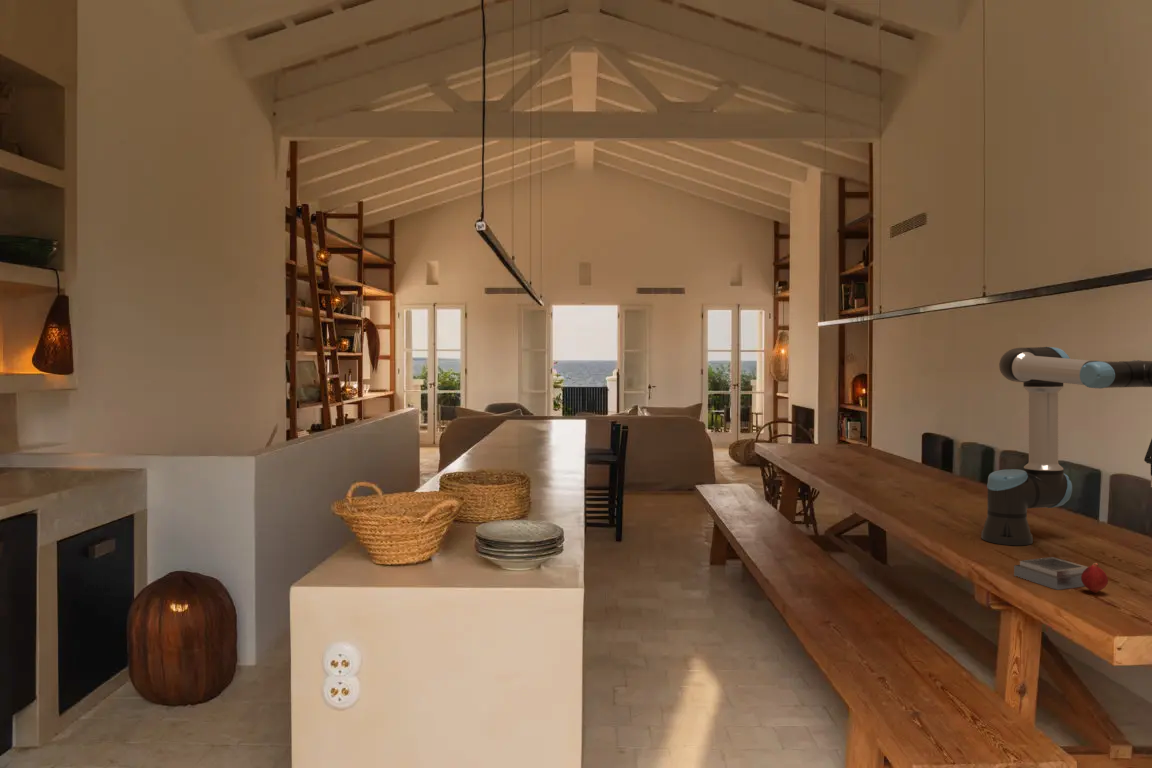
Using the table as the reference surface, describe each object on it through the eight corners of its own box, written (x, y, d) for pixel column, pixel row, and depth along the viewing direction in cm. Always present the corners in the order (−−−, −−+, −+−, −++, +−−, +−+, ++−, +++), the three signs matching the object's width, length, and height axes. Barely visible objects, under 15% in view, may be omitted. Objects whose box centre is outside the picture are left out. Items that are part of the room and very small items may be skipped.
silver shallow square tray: (1014, 575, 224) (1014, 560, 224) (1052, 571, 228) (1052, 555, 228) (1057, 589, 211) (1057, 573, 211) (1097, 584, 215) (1097, 568, 215)
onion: (1084, 594, 206) (1084, 564, 206) (1078, 588, 212) (1079, 559, 212) (1110, 597, 204) (1110, 566, 204) (1104, 590, 210) (1104, 560, 209)
